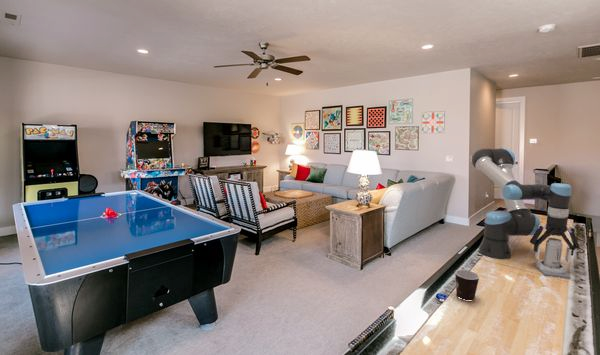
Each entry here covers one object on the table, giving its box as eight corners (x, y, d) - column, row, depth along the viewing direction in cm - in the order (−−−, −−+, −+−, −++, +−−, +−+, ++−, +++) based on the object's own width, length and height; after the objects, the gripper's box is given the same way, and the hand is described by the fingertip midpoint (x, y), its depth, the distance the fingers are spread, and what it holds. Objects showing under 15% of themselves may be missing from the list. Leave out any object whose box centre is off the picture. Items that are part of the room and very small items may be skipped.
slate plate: (544, 275, 144) (544, 273, 144) (532, 263, 157) (533, 261, 157) (570, 279, 141) (570, 277, 141) (556, 266, 154) (556, 264, 154)
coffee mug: (455, 289, 132) (456, 267, 131) (478, 295, 127) (480, 273, 126) (450, 302, 123) (452, 278, 121) (475, 309, 118) (477, 284, 116)
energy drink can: (554, 272, 145) (558, 242, 143) (540, 267, 151) (543, 238, 148) (561, 270, 147) (565, 240, 145) (547, 265, 153) (551, 236, 150)
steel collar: (542, 272, 146) (543, 267, 145) (533, 263, 156) (534, 258, 155) (569, 275, 142) (570, 270, 142) (558, 266, 152) (559, 261, 152)
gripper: (530, 216, 145) (525, 259, 149) (593, 220, 138) (587, 266, 141) (524, 212, 152) (520, 253, 156) (584, 216, 145) (578, 259, 148)
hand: (552, 259), depth 148 cm, fingers open, 11 cm apart
